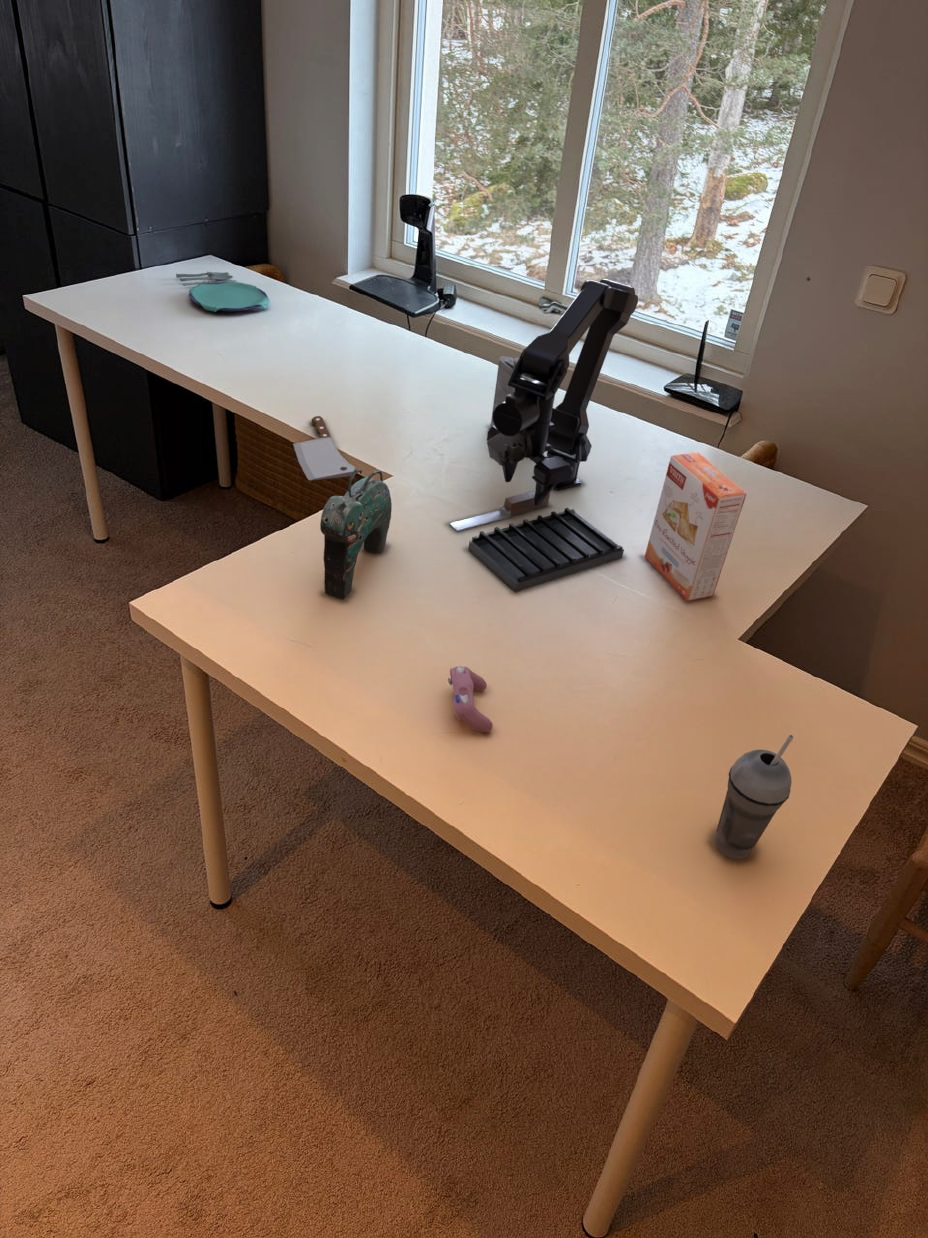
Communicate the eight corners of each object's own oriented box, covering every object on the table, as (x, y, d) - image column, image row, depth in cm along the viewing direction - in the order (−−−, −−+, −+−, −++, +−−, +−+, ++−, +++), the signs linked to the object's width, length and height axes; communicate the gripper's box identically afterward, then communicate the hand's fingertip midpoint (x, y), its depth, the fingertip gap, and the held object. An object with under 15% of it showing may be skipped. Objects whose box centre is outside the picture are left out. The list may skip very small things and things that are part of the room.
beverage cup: (716, 813, 123) (762, 700, 111) (769, 842, 120) (822, 728, 108) (694, 848, 118) (739, 733, 106) (749, 878, 115) (801, 764, 103)
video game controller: (459, 694, 138) (441, 661, 134) (488, 684, 138) (471, 651, 134) (464, 743, 131) (446, 709, 127) (495, 732, 130) (478, 698, 126)
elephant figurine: (345, 607, 150) (349, 498, 137) (308, 596, 151) (309, 486, 139) (396, 546, 165) (403, 443, 153) (362, 536, 166) (367, 433, 154)
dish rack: (573, 519, 178) (575, 504, 176) (622, 558, 169) (626, 543, 168) (467, 549, 166) (469, 534, 164) (515, 592, 158) (517, 577, 156)
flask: (523, 456, 196) (536, 374, 185) (484, 427, 205) (494, 347, 194) (537, 453, 198) (551, 372, 187) (498, 424, 207) (509, 344, 196)
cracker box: (641, 557, 170) (669, 453, 158) (669, 553, 172) (699, 450, 160) (685, 603, 160) (718, 495, 148) (714, 597, 163) (749, 491, 150)
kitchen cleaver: (283, 418, 196) (331, 414, 199) (283, 423, 197) (331, 418, 200) (305, 478, 179) (357, 472, 182) (306, 483, 179) (357, 477, 182)
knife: (540, 500, 183) (542, 487, 181) (548, 506, 181) (550, 494, 179) (449, 524, 172) (450, 511, 171) (457, 531, 171) (458, 518, 169)
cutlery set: (203, 320, 236) (202, 310, 235) (168, 279, 256) (167, 270, 254) (279, 313, 245) (279, 304, 243) (239, 274, 265) (239, 265, 263)
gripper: (467, 402, 169) (458, 478, 179) (530, 448, 157) (517, 527, 167) (517, 392, 175) (506, 467, 184) (581, 436, 163) (566, 514, 172)
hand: (522, 493), depth 177 cm, fingers open, 9 cm apart
